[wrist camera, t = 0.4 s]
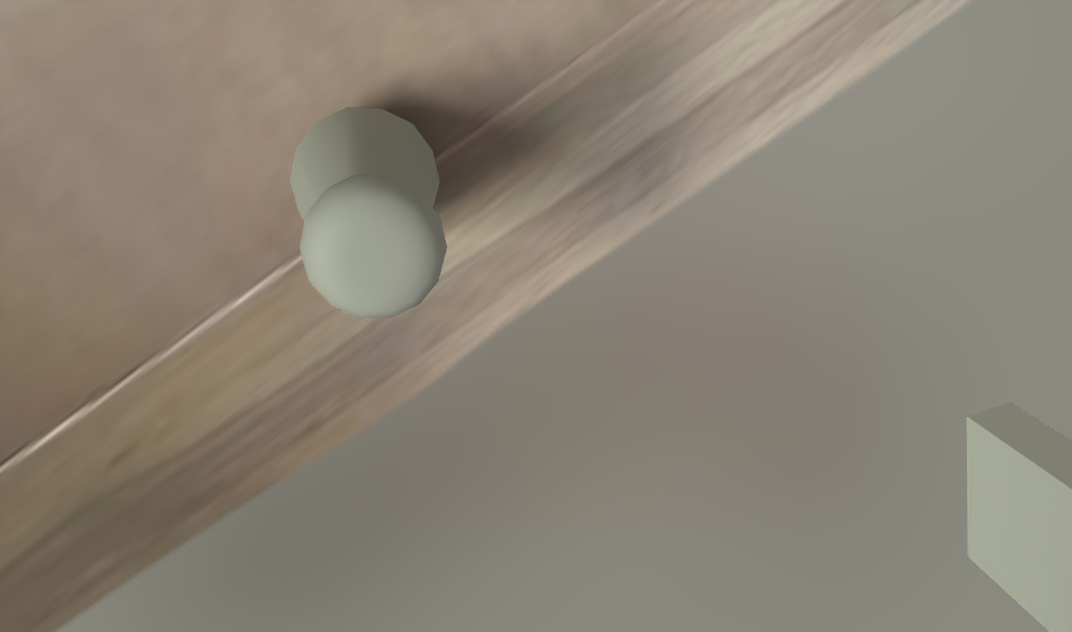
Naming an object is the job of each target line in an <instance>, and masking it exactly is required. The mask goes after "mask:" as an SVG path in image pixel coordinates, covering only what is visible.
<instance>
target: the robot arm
mask: <svg viewBox="0 0 1072 632" xmlns="http://www.w3.org/2000/svg"><path fill="white" fill-rule="evenodd" d="M967 497H968V498H967V501H968V504H967V505H968V557H969V558H970V559H971V560H972V561H973V562H974V563H976V564H977V565H978V566H979V567H980V568H981V569H982V570H983V571H984V572H985V573H986V574H988V575H989V576H990V577H991V578H992V579H993V580H994V581H995V582H996V583H997V584H998V585H999V586H1001V587H1002V588H1003V589H1004V590H1005V591H1006V592H1007V593H1008V594H1009V595H1010V596H1011V597H1013V598H1014V599H1015V600H1016V601H1017V602H1018V603H1019V604H1020V605H1021V606H1022V607H1023V608H1025V609H1026V610H1027V611H1028V612H1029V613H1030V614H1031V615H1032V616H1033V617H1034V618H1036V619H1037V620H1038V621H1039V622H1040V623H1041V624H1042V625H1043V626H1044V627H1045V628H1046V629H1047V630H1049V631H1050V632H1072V440H1070V439H1069V438H1067V437H1065V436H1064V435H1062V434H1061V433H1059V432H1057V431H1056V430H1054V429H1053V428H1051V427H1049V426H1048V425H1046V424H1045V423H1043V422H1041V421H1040V420H1038V419H1037V418H1035V417H1034V416H1032V415H1030V414H1029V413H1027V412H1026V411H1024V410H1022V409H1021V408H1019V407H1018V406H1016V405H1015V404H1013V403H1008V404H1004V405H1002V406H998V407H995V408H992V409H989V410H986V411H982V412H979V413H976V414H973V415H969V416H967Z"/></svg>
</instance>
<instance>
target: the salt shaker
mask: <svg viewBox="0 0 1072 632" xmlns="http://www.w3.org/2000/svg"><path fill="white" fill-rule="evenodd" d="M290 182H291V186H292V189H293V193H294V197H295V200H296V204H297V207H298V211H299V213H300V215H301V216H302V218H303V220H304V227H303V232H302V237H301V243H300V251H301V255H302V259H303V262H304V266H305V269H306V273H307V277H308V279H309V281H310V283H311V284H312V285H313V287H314V288H315V289H316V290H317V291H318V292H319V293H320V294H321V295H322V296H323V297H324V298H325V299H326V300H327V301H328V302H329V304H330V305H331V306H333V307H335V308H338V309H340V310H342V311H345V312H347V313H349V314H352V315H354V316H356V317H359V318H381V317H393V316H395V315H397V314H399V313H402V312H404V311H406V310H408V309H410V308H412V307H415V306H417V305H419V304H420V303H421V302H422V300H423V299H424V298H425V297H426V295H427V294H428V293H429V292H430V291H431V289H432V288H433V287H434V286H435V285H436V283H437V282H438V280H439V276H440V272H441V268H442V265H443V261H444V257H445V253H446V249H447V245H446V240H445V236H444V232H443V228H442V223H441V219H440V216H439V215H438V213H437V212H436V211H435V210H434V208H433V207H434V203H435V199H436V195H437V191H438V187H439V183H440V180H439V175H438V171H437V167H436V163H435V158H434V154H433V150H432V149H431V148H430V146H429V145H428V144H427V142H426V141H425V139H424V138H423V137H422V135H421V134H420V133H419V131H418V130H417V129H416V127H415V126H414V125H413V123H410V122H408V121H406V120H404V119H402V118H400V117H398V116H396V115H394V114H392V113H390V112H388V111H385V110H383V109H375V108H355V107H347V108H345V109H343V110H341V111H339V112H337V113H335V114H333V115H331V116H328V117H326V118H324V119H322V120H320V121H318V122H317V123H316V124H315V125H314V126H313V128H312V129H311V130H310V131H309V132H308V134H307V135H306V136H305V137H304V138H303V140H302V141H301V142H300V143H299V145H298V146H297V147H296V150H295V156H294V161H293V167H292V173H291V178H290Z"/></svg>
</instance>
